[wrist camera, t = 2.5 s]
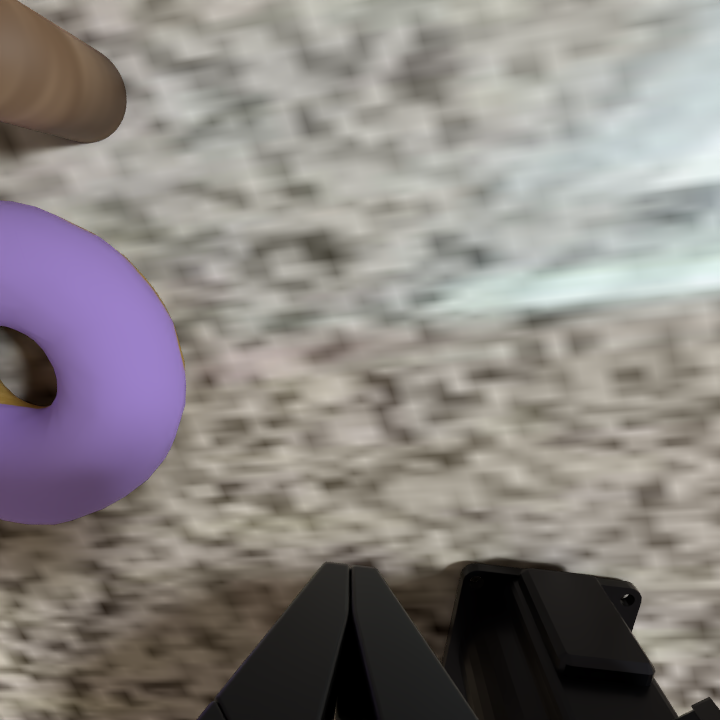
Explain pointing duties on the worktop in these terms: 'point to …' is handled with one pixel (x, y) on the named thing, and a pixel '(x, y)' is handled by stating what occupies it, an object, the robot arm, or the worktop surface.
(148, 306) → the donut
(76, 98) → the gate post
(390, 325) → the worktop surface
